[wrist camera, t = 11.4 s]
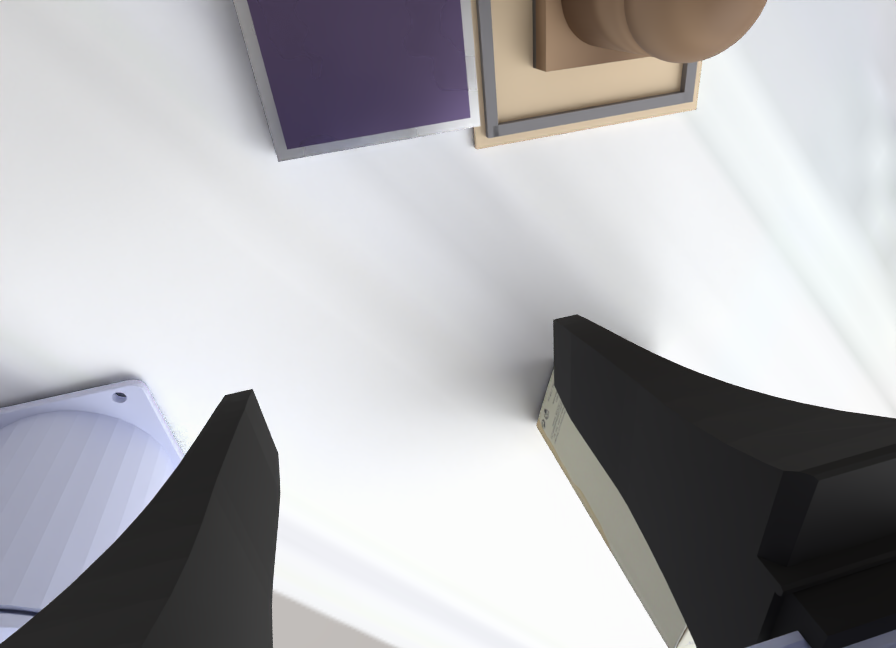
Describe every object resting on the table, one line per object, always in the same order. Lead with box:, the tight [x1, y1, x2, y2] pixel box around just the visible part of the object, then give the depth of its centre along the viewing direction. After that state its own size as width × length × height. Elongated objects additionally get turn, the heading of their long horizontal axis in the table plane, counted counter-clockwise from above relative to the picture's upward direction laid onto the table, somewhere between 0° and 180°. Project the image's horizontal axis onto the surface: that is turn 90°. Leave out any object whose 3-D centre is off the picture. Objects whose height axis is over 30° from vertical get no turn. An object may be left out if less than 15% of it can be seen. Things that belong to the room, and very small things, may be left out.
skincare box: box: [537, 369, 696, 648], centre depth 23 cm, size 6×4×12 cm
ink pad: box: [233, 0, 480, 162], centre depth 17 cm, size 7×7×1 cm
